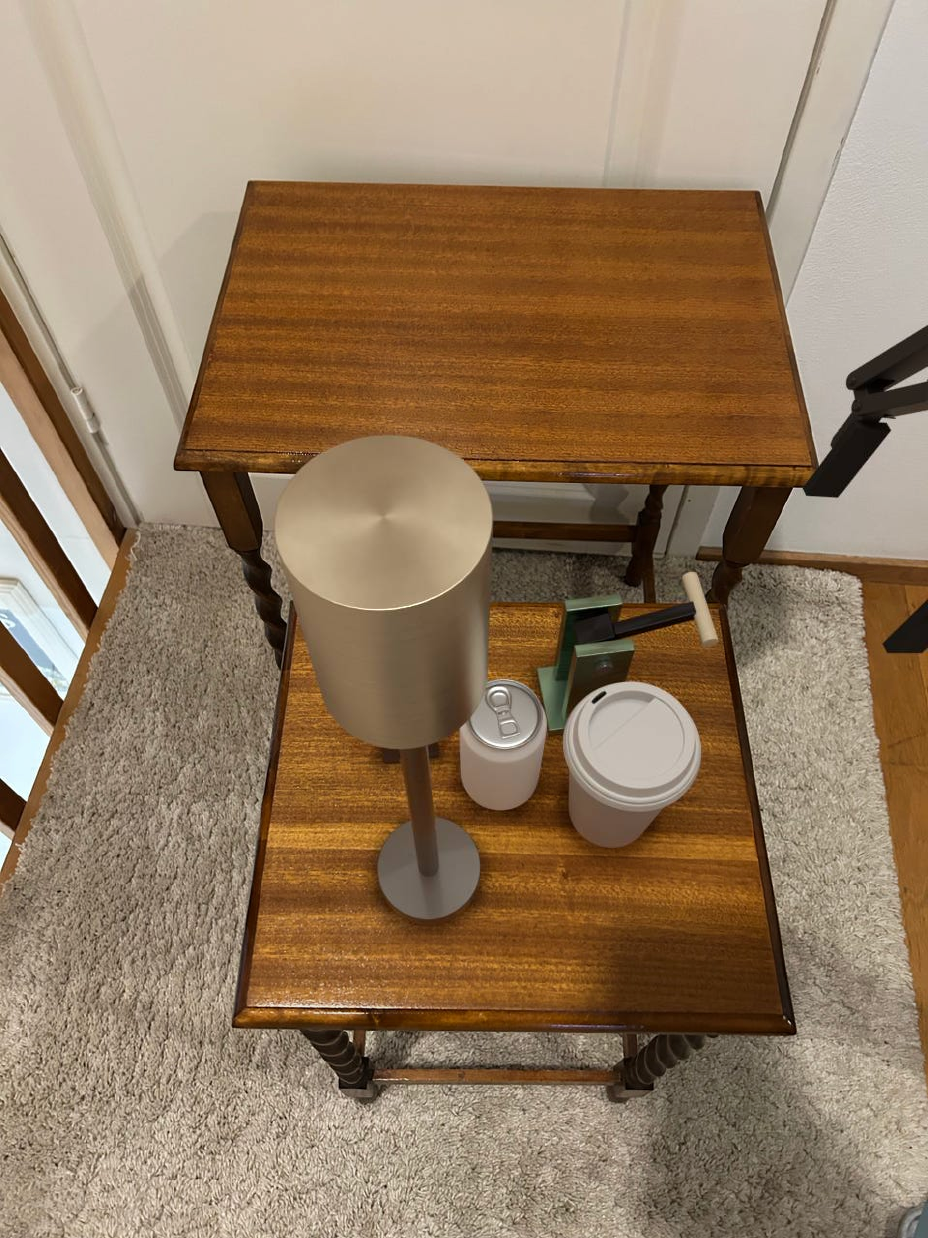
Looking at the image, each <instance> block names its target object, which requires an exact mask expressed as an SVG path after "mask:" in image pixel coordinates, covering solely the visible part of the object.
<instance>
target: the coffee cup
mask: <svg viewBox="0 0 928 1238" xmlns="http://www.w3.org/2000/svg"><path fill="white" fill-rule="evenodd" d="M562 735H563V737H562V749H563V755H564V758H565V759H564V760H565V762H566V765H567V768H568V769H569V771H568V814H569V818H570V821H571V823H572V825H573V827H574V828H575V830H576V831H577V833H578V834H579V835H580V837H582V838H583V839H585V840H586V841H587V842H589V843H591V844H593V845H595V846H598V847H601V848H607V849H616V848H622V847H625V846H628V845H630V844H632V843H634V842H635V841H637V839H639V837H641V836H642V834H643V833H644V832H645V830H646V829H647V828H648V827H649V826H650V825H651V823H652V822H653V821H654V820H655V819H656V817H657V816H658V815H659V814H660V813H661V812H662V810H663V809H664V808H665V807H667V806H670V805H671V804H673V803H674V802H676V801H677V800H679V799H681V797H683V796H684V795H685V794H686V793H687V792H688V791H689V790H690V788H691V787H692V785H694V782H695V780H696V778H697V776H698V774H699V772H700V771H699V770H700V767H701V762H702V745H701V738H700V735H699V731H698V729H697V725H696V724H695V722H694V720H693V718H692V717H691V715H690V713H689V712H688V711H687V709H686V708H685V707H684V706H683V704H682V703H681V702H680V701H678V699H676V698H675V697H674V696H673V695H672V694H671V693H669V692H667V691H666V690H664V689H662V688H660V687H659V686H656V685H653V684H650V683H647V682H641V681H625V682H621V683H614V684H610V685H607V686H604V687H601V688H599V689H597V690H595V691H593V692H592V693H590V694H589V695H587V696H586V697H585V698H584V699H583V700H582V701H581V702H580V703H579V704H578V705H577V706H576V707H575V708H574V710H573V711H572V713H571V714H570V716H569V718H568V720H567V723H566V726H565V729H564V734H562Z"/></svg>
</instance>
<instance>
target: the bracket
mask: <svg viewBox="0 0 928 1238" xmlns="http://www.w3.org/2000/svg"><path fill="white" fill-rule="evenodd" d="M623 605H624V603H623V600H622V596H621V593H616V594H606V595H599V596H591V597H582V598H581V597H580V598H574V599H566V600H563V605H562V612H561V618H560V624H559V631H558V637H557V643H556V649H555V656H554V661H553V665H552V666H545V667H543V666H542V667H537V668H536V673H535V675H536V681H537V686H538V692H539V696H540V703H541V705H542V707H543V709H544V712H545V715H546V721H547V729H546V732H547V735H548V737H553V736H559V735H564V729H565V726H566V723H567V720H568V718H569V716H570V714H571V713H572V711H573V710H574V708H575V707H576V706H577V705H578V704H579V703H580V702H581V701H582V700H583V699H584V698H585V697H586V696H587V695H589V694H590V693H592V692H593V691H595V690H597V689H599V688H601V687H604V686H607V685H610V684H614V683H621V682H627V678H628V674H629V671H630V669H631V664H632V662H633V658H634V655H635V651H636V647H635V643H634V639H633V638H632V637H630V638H623V639H620V640H615V641H607V642H599V643H591V644H583V645H578V641H577V637H576V633H575V628H574V624H573V623H574V622H576V621H580V620H584V619H587V618H591V617H595V616H598V615H602V614H606V613H609V615H610V618H611V621H612V623H614V622H617V621H620V617H621V612H622V610H623V609H622V608H623Z"/></svg>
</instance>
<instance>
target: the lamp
mask: <svg viewBox="0 0 928 1238" xmlns="http://www.w3.org/2000/svg"><path fill="white" fill-rule="evenodd" d="M493 532H494V511H493V504H492V501H491V497H490V494H489V492H488V489H487V487H486V485H485V483H484V482H483V480H482V479H481V477H480V476H479V474H478V473H477V472H476V471H475V469H473V467H472V466H471V465H470V464H469V463H468V462H466V460H464V459H463V458H462V457H460V456H459V455H457V454H456V453H454V452H453V451H451V450H450V449H448V448H446V447H443V446H442V445H440V444H437V443H435V442H432V441H430V440H426V439H422V438H419V437H415V436H414V437H413V436H408V435H399V434H382V435H381V434H380V435H369V436H363V437H359V438H355V439H351V440H347V441H345V442H342V443H339V444H336V445H334V446H332V447H330V448H327V449H326V450H324V451H322V452H321V453H319V454H318V455H316V456H315V457H313V458H311V459H310V460H308V461H307V462H306V463H305V464H304V465H303V466H302V467H300V468H299V470H297V472H296V473H295V474H294V475H293V476H292V477H291V479H290V480H289V482H288V483H287V484H286V486H285V487H284V489H283V491H282V492H281V494H280V496H279V500H278V502H277V504H276V509H275V512H274V517H273V537H274V544H275V548H276V550H277V554H278V557H279V560H280V563H281V566H282V571H283V573H284V576H285V580H286V584H287V586H288V590H289V594H290V597H291V600H292V603H293V607H294V609H295V613H296V616H297V620H298V622H299V626H300V629H301V632H302V636H303V639H304V643H305V647H306V649H307V652H308V656H309V659H310V662H311V666H312V669H313V672H314V676H315V679H316V682H317V685H318V688H319V691H320V695H321V698H322V701H323V703H324V705H325V708H326V709H327V711H328V713H329V714H330V716H331V718H332V719H333V720H334V721H335V722H336V723H337V724H338V725H339V727H340V728H342V729H343V730H344V731H345V732H346V733H348V734H350V735H351V736H352V737H354V738H356V739H358V740H360V741H362V742H363V743H366V744H369V745H372V746H375V747H379V748H381V747H383V748H389V749H399V752H400V756H399V759H400V763H401V769H402V777H403V783H404V787H405V793H406V800H407V806H408V807H407V808H408V813H409V818H410V820H408V821H406V822H404V823H402V824H400V825H399V826H397V827H396V828H395V829H394V830H393V831H392V832H391V833H390V834H389V835H388V836H387V838H386V839H385V841H384V842H383V843H382V846H381V848H380V851H379V853H378V856H377V857H378V858H377V861H376V877H377V881H378V885H379V889H380V892H381V894H382V897H383V899H384V901H385V902H386V904H387V906H388V907H389V908H390V909H391V910H392V912H393V913H394V914H396V915H397V916H398V917H400V918H401V919H403V920H405V921H407V922H409V923H412V924H415V925H419V926H426V927H427V926H429V927H431V926H439V925H443V924H446V923H449V922H451V921H453V920H455V919H456V918H458V917H459V916H461V915H463V913H464V912H465V911H467V909H468V908H469V907H470V906H471V905H472V903H473V901H474V900H475V898H476V895H477V894H478V891H479V888H480V884H481V876H482V863H481V857H480V852H479V849H478V846H477V845H476V842H475V841H474V839H473V838H472V836H471V835H470V834H469V833H468V832H467V831H466V830H465V829H464V828H463V827H462V826H461V825H459V824H457V823H456V822H454V821H452V820H450V819H447V818H444V817H441V816H440V817H439V816H436V815H435V805H434V797H433V786H432V777H431V776H432V775H431V767H430V765H431V764H430V758H429V754H428V745H429V744H432V743H435V742H438V743H439V741H442V740H444V739H446V738H447V737H449V736H451V735H452V734H454V733H456V732H457V731H458V730H460V727H462V726H463V725H464V724H465V723H466V722H467V721H468V720H469V719H470V718H471V716H472V715H473V714H474V712H475V711H476V709H477V708H478V706H479V704H480V702H481V700H482V698H483V695H484V692H485V689H486V684H487V682H488V674H489V649H490V623H491V622H490V621H491V591H492V590H491V589H492V565H493V564H492V561H493V539H494V538H493V535H494V533H493Z"/></svg>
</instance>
